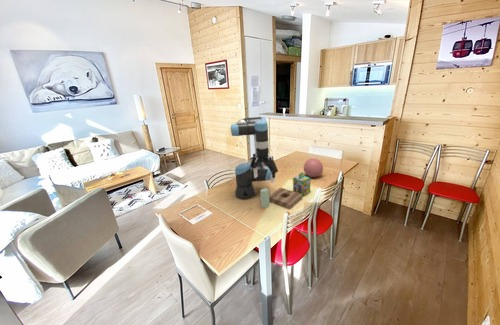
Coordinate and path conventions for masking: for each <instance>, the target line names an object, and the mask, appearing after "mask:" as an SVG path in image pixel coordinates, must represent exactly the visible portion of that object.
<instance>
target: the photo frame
mask: <svg viewBox="0 0 500 325" xmlns="http://www.w3.org/2000/svg"><path fill="white" fill-rule="evenodd" d="M195 206H197V207H199V208H200V207H201V209H202V210H203V211H204V212H202V213H201V214H198V215H196V216H195V217H193V218H192V219H190V220H189V219H188V218H187V217H185V216H183V215H182V214H181V213H184V212H186V211H188V210H190V209H191V208H193V207H195ZM205 210H206V211H205ZM178 214H179V215H178V216H180V217H181V216H182V217H181V218H183V219H184V220H185V221H187V222H190V223H189V224H191V225H192V226H194V225H196V224H197V223H200V222H201V221H203V220H205V219H206V217H207V218H208V217H211V216H212V215H213V214H214V213H213V212H212V211H210V210H208V209H206V208H205V207H203V206H201V205H199V204H198V203H197V204H195V205H192V206H191V207H189V208H187V209H185V210H183V211H181V212H179V213H178Z"/></svg>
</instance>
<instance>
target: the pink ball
mask: <svg viewBox="0 0 500 325" xmlns="http://www.w3.org/2000/svg"><path fill="white" fill-rule="evenodd" d="M323 170H324V165H323V163H322V162H321V161H320V159H318V158H310V159H308V160H306V161H305V162H304V164H303V171H304V173H305V174H306V175H307V177H309V178H316V177H319V176H320V175H321V174H322V172H323Z"/></svg>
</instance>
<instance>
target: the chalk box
mask: <svg viewBox="0 0 500 325" xmlns="http://www.w3.org/2000/svg"><path fill="white" fill-rule="evenodd" d="M311 178H312V177H310V176H308V175H307V176H306V175H304V173H303V172H300V173H299V174H298V175H297V176H294V177H293V178H292V187H293V188H292V190H293V192H296V193H300V194H302V197H305V196H306V195H308V194H309V193H311Z"/></svg>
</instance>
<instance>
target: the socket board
mask: <svg viewBox="0 0 500 325" xmlns="http://www.w3.org/2000/svg"><path fill="white" fill-rule="evenodd" d="M302 200H303V196H302V194H300V193H296V192H293V191H292V190H290V189H286V188H283V187H279V188H277V189H276V190H275V191H273V192H272V193H269V203H272V204H274V205H277V206H280V207H282V208H285V209H286V210H291V209H292V208H293V207H295V206H296V205H297V204H298V203H299V202H300V201H302Z"/></svg>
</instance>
